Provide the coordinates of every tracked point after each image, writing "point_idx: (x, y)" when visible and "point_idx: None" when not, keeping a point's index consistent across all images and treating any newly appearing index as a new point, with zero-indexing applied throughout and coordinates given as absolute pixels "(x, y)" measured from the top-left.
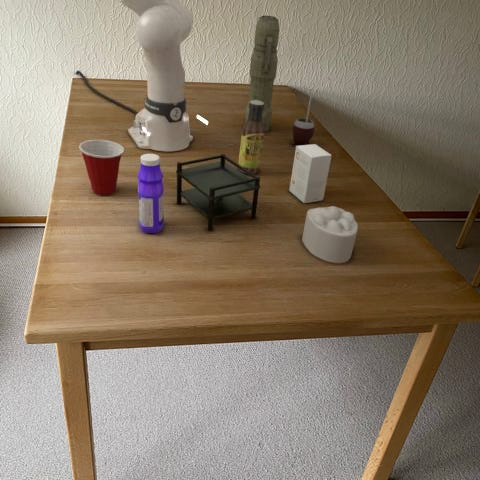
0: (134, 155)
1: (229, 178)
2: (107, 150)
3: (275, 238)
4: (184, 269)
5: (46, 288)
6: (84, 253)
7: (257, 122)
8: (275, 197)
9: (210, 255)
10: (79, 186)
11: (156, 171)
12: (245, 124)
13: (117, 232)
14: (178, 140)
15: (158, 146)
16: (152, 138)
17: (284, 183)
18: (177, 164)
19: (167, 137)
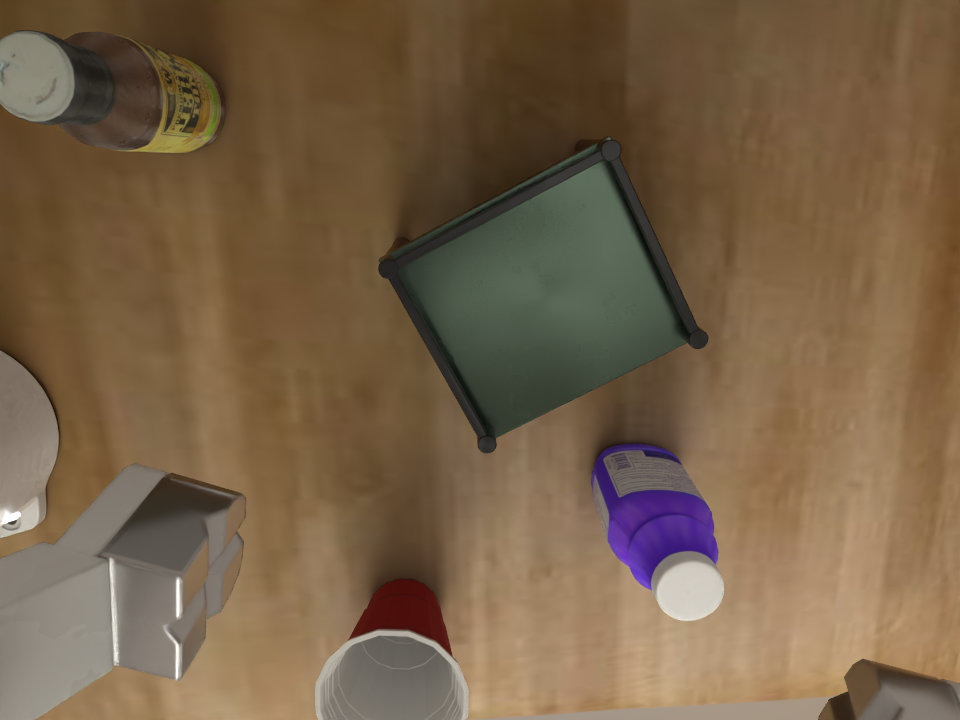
0: None
1: (547, 253)
2: (336, 669)
3: (722, 90)
4: (857, 388)
5: None
6: (752, 624)
7: (116, 76)
8: (421, 29)
9: (798, 313)
10: None
11: (709, 550)
12: (109, 138)
13: None
14: (5, 394)
15: (44, 462)
16: (20, 495)
17: None
18: (491, 450)
19: (15, 443)
